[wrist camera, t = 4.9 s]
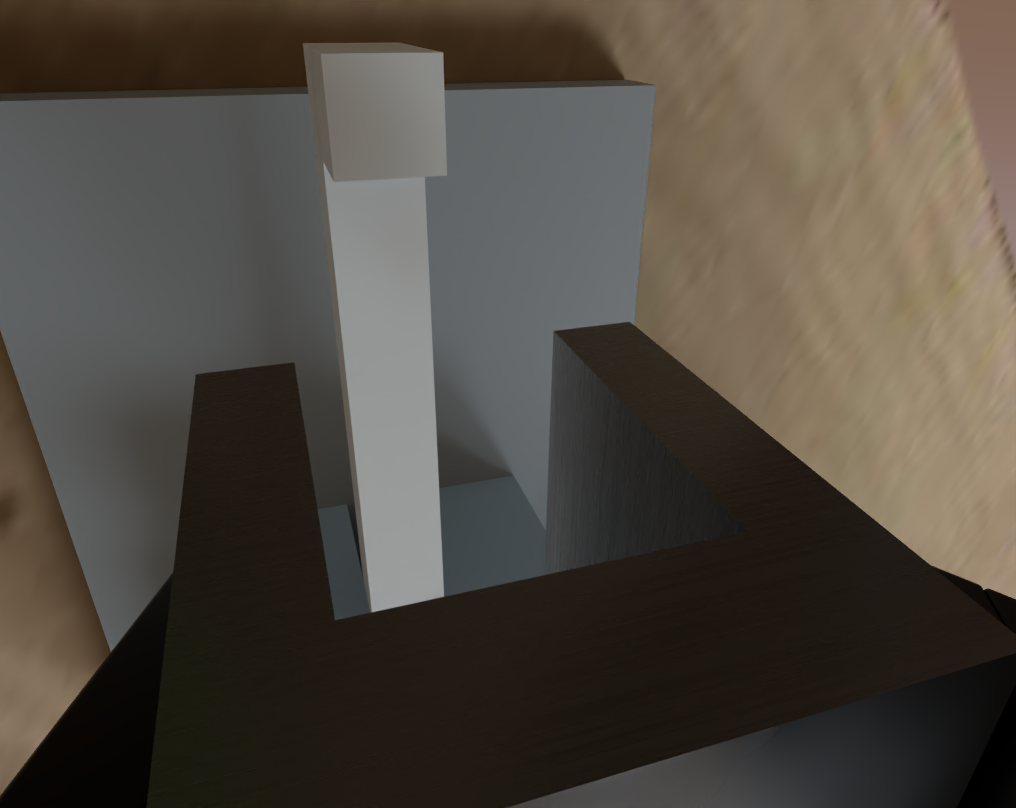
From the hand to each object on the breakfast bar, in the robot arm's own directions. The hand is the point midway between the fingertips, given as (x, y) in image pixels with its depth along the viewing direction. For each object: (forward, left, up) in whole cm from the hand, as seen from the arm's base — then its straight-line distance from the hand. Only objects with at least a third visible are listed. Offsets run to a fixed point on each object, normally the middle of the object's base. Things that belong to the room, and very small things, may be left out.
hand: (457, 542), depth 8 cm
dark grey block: (0, 0, -1) cm, 1 cm away
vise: (0, +4, -11) cm, 12 cm away
